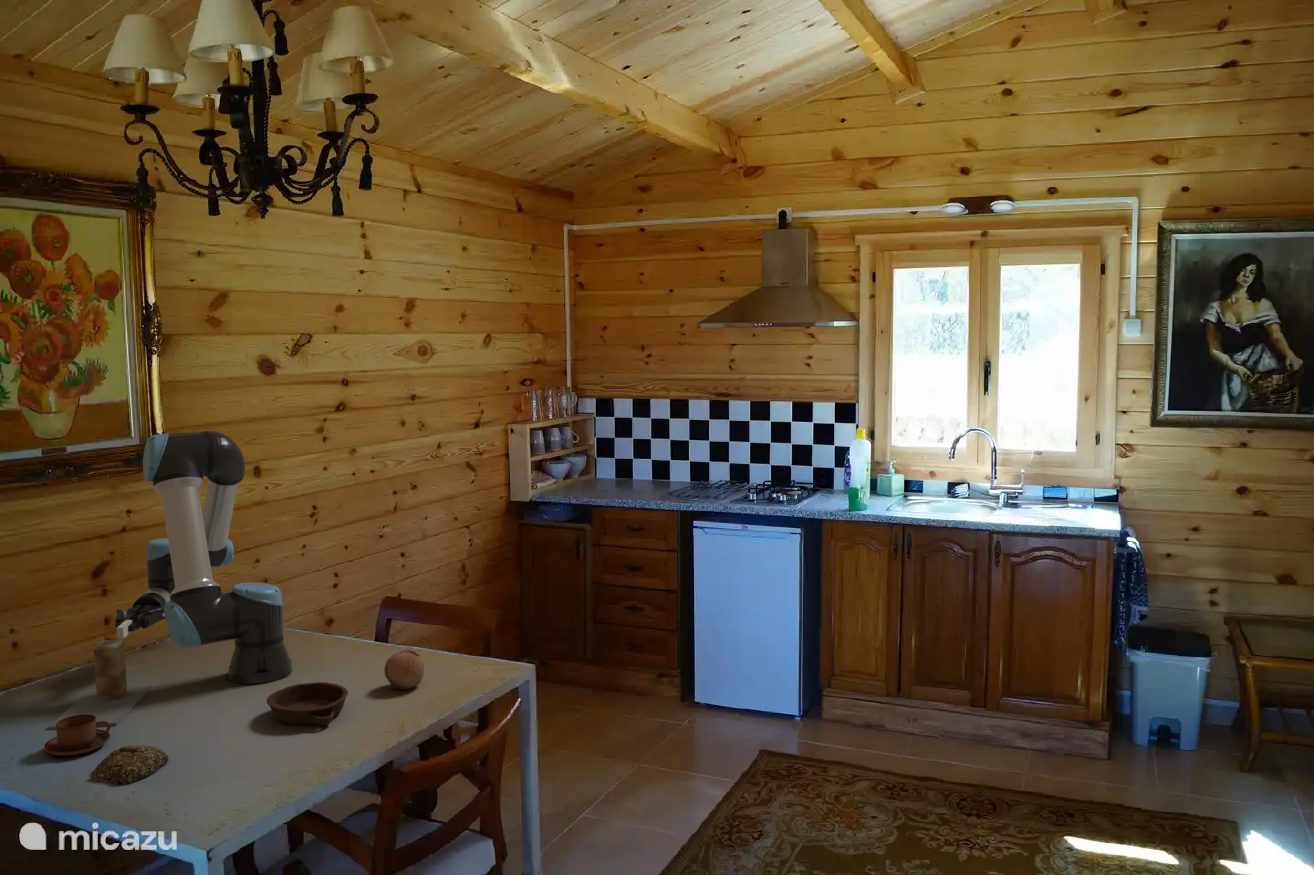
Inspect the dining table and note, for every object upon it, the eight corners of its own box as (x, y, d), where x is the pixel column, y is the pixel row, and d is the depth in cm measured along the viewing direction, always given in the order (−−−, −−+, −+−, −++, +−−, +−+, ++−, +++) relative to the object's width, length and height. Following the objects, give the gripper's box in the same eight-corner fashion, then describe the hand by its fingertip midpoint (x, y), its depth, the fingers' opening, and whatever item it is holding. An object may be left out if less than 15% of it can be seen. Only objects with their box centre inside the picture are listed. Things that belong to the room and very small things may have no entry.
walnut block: (127, 691, 246) (124, 639, 245) (119, 699, 241) (116, 645, 240) (105, 692, 245) (101, 640, 244) (97, 700, 240) (93, 646, 239)
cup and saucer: (100, 733, 223) (98, 705, 222) (118, 749, 214) (116, 720, 214) (38, 749, 215) (35, 720, 214) (54, 766, 206) (51, 736, 205)
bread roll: (177, 762, 208) (176, 738, 208) (131, 788, 196) (130, 763, 196) (126, 755, 212) (124, 732, 211) (77, 780, 200) (76, 756, 199)
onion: (411, 693, 254) (421, 653, 257) (424, 694, 246) (434, 652, 250) (375, 685, 250) (385, 645, 253) (386, 686, 242) (397, 644, 245)
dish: (285, 740, 219) (284, 718, 218) (254, 710, 236) (253, 689, 235) (364, 721, 229) (363, 699, 229) (328, 693, 246) (327, 673, 246)
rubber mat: (152, 688, 250) (151, 685, 250) (116, 725, 227) (116, 722, 227) (90, 691, 248) (90, 689, 248) (48, 729, 225) (48, 726, 225)
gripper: (178, 618, 274) (149, 646, 251) (126, 620, 272) (92, 649, 249) (177, 591, 273) (147, 617, 250) (125, 592, 271) (90, 619, 248)
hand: (120, 633), depth 250 cm, fingers closed
